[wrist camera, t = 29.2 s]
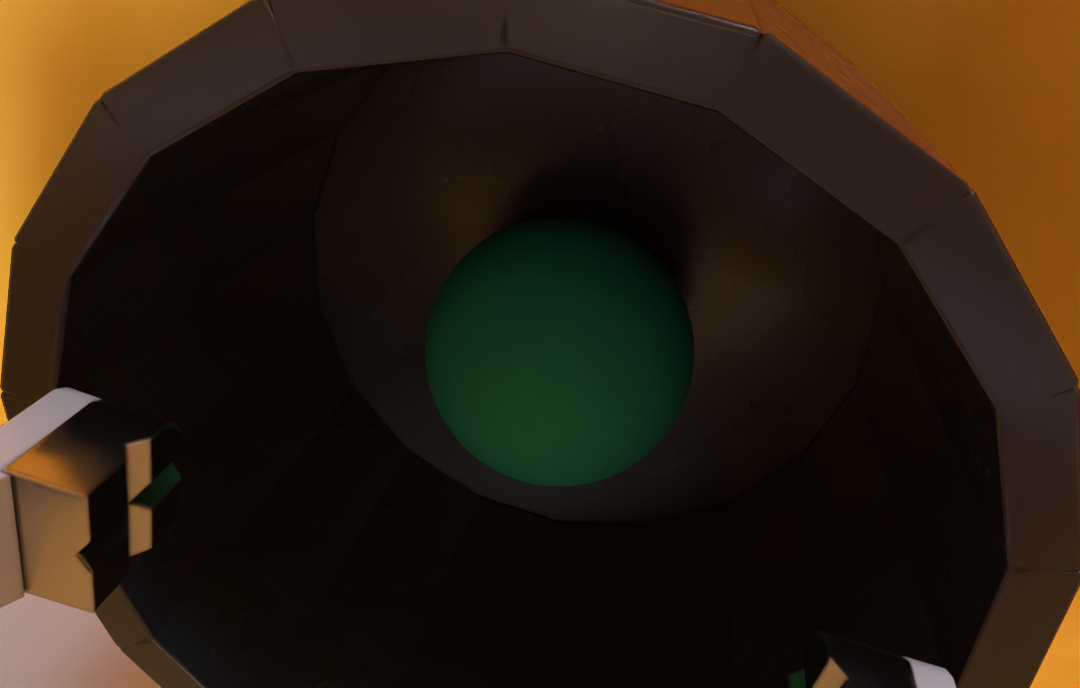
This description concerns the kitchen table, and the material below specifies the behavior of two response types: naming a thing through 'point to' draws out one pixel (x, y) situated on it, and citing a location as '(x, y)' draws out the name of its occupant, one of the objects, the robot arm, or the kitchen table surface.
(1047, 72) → the kitchen table surface
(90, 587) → the robot arm
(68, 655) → the lumpy-topped squat cylinder
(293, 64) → the pot
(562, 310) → the ball
